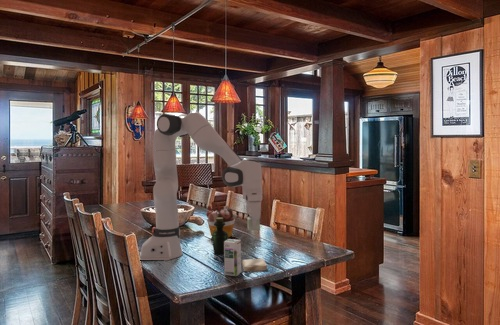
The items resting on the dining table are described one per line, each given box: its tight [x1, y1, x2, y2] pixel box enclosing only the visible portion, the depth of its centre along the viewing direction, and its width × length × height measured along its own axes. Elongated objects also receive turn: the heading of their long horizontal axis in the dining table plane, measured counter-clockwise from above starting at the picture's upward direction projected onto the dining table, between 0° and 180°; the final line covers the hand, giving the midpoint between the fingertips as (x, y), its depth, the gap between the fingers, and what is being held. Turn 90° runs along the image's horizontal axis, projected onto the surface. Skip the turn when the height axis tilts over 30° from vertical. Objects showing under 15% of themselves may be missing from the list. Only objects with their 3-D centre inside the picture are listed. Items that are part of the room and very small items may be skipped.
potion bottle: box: [211, 217, 229, 256], centre depth 198 cm, size 8×8×18 cm
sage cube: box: [246, 216, 261, 232], centre depth 175 cm, size 5×5×5 cm
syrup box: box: [223, 238, 242, 277], centre depth 168 cm, size 6×6×14 cm
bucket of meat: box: [206, 201, 238, 239], centre depth 232 cm, size 20×16×20 cm
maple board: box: [241, 258, 268, 272], centre depth 176 cm, size 10×10×2 cm
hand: (253, 225), depth 175 cm, fingers closed on sage cube, 5 cm apart
